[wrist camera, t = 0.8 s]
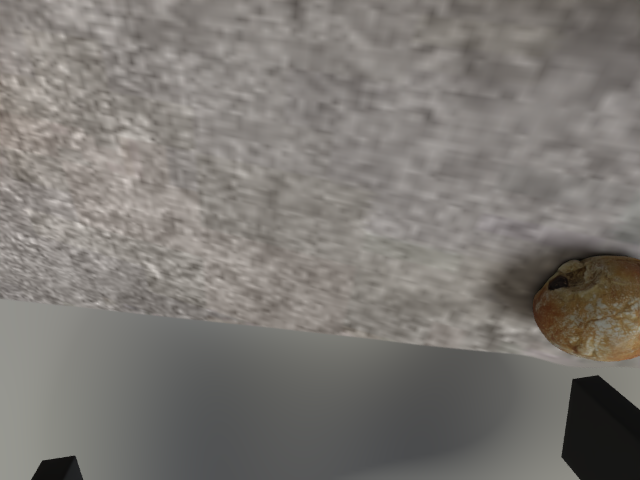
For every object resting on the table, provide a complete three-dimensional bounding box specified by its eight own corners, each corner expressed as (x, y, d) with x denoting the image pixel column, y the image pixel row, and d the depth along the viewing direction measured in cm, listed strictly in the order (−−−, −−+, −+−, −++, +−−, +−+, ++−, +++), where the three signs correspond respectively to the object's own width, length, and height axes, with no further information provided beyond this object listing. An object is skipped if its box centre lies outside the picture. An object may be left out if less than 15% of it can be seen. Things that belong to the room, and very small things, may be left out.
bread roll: (598, 214, 38) (605, 253, 31) (701, 291, 36) (729, 349, 30) (514, 283, 43) (505, 328, 37) (601, 352, 42) (607, 410, 36)
